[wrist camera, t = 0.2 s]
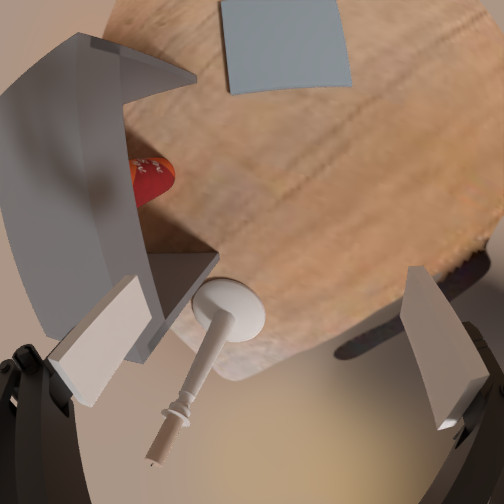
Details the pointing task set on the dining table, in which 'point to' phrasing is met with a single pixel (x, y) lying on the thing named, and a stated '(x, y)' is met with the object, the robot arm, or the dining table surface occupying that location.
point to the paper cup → (150, 178)
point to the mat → (284, 45)
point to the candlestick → (209, 349)
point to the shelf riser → (86, 188)
